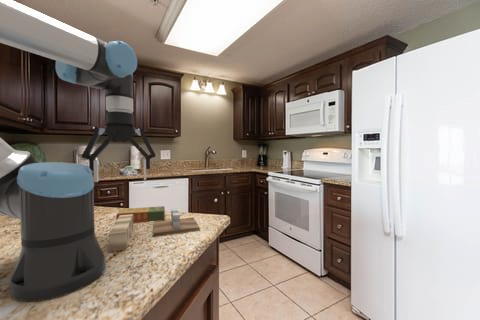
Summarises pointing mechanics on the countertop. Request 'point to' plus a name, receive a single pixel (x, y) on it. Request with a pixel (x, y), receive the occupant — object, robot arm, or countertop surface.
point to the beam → (121, 233)
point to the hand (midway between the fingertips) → (121, 180)
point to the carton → (144, 214)
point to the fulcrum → (174, 225)
